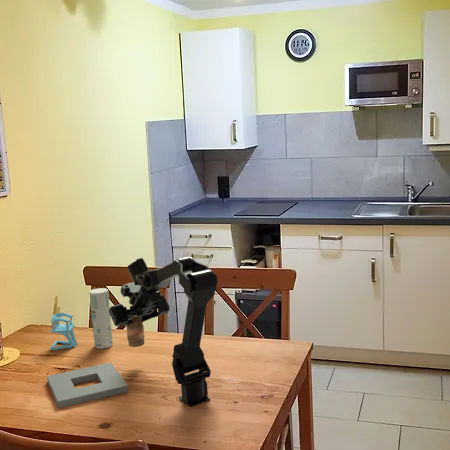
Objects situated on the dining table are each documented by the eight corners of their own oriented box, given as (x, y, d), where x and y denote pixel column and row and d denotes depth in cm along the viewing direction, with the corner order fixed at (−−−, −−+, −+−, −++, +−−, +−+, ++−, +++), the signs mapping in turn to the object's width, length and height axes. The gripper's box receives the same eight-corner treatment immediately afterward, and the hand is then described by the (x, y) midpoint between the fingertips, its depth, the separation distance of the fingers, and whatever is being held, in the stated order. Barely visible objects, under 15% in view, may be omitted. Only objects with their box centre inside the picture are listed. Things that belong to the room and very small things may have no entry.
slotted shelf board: (128, 391, 183) (128, 385, 183) (58, 408, 175) (58, 401, 175) (111, 368, 201) (111, 362, 201) (47, 382, 193) (47, 376, 193)
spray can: (115, 346, 221) (110, 291, 217) (97, 350, 218) (91, 294, 214) (110, 340, 226) (105, 287, 223) (92, 344, 224) (87, 290, 220)
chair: (73, 350, 220) (70, 317, 217) (50, 350, 220) (46, 318, 218) (78, 342, 227) (76, 310, 225) (56, 343, 227) (52, 311, 225)
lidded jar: (132, 348, 198) (130, 318, 197) (125, 344, 203) (122, 314, 201) (148, 344, 201) (145, 314, 200) (140, 339, 206) (137, 310, 204)
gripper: (162, 270, 200) (148, 296, 211) (108, 281, 190) (96, 308, 200) (176, 299, 195) (162, 324, 206) (122, 312, 185) (109, 338, 195)
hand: (132, 323), depth 202 cm, fingers closed on lidded jar, 5 cm apart
